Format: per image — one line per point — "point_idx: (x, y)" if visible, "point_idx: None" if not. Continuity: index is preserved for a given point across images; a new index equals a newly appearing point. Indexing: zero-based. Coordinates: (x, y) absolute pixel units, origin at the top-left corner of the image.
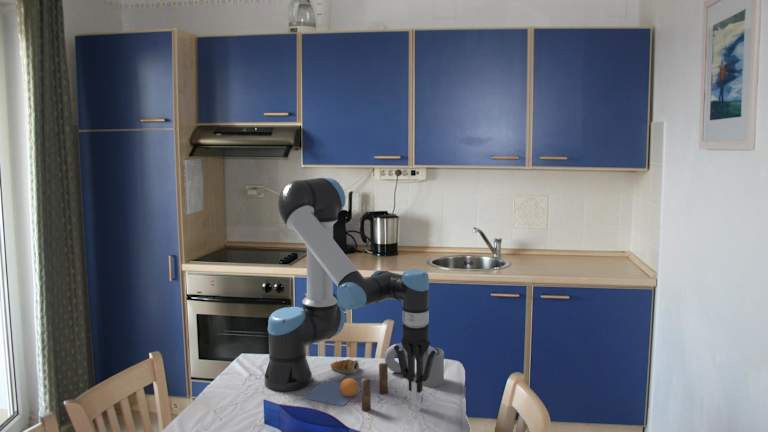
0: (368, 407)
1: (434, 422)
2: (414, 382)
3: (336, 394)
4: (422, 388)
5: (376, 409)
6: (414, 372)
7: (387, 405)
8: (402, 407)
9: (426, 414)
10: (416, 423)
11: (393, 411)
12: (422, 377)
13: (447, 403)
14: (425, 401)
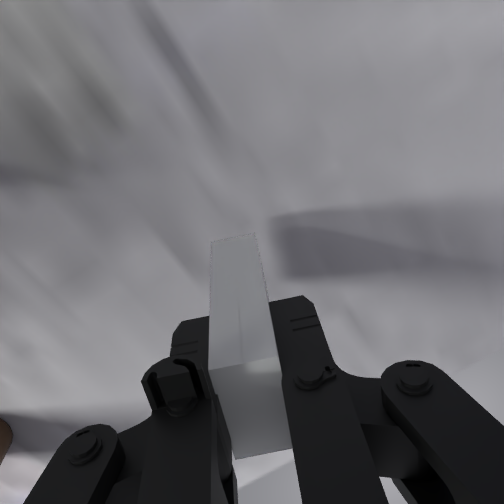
0: (2, 457)
1: (450, 341)
2: (272, 450)
3: None
4: (316, 313)
5: (35, 403)
6: (216, 469)
7: (44, 325)
8: (153, 292)
9: (357, 285)
10: None
11: (143, 367)
12: (389, 475)
13: (430, 16)
14: (238, 99)
